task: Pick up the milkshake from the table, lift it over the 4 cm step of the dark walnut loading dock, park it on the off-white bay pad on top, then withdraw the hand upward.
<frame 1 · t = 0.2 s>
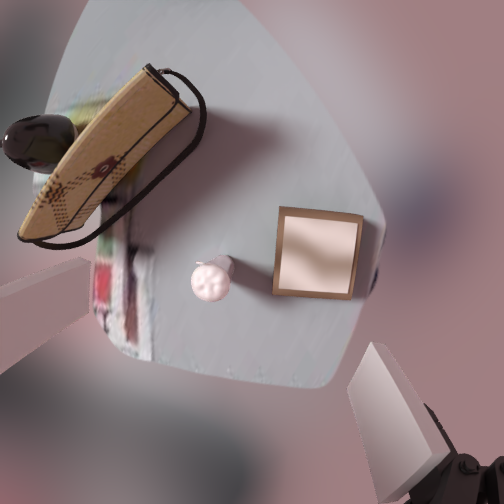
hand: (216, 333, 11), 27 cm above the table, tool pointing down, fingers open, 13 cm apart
clutch purse: (137, 175, 38), on the table
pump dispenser: (67, 147, 37), on the table
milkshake: (222, 262, 39), on the table
dock: (313, 249, 37), on the table
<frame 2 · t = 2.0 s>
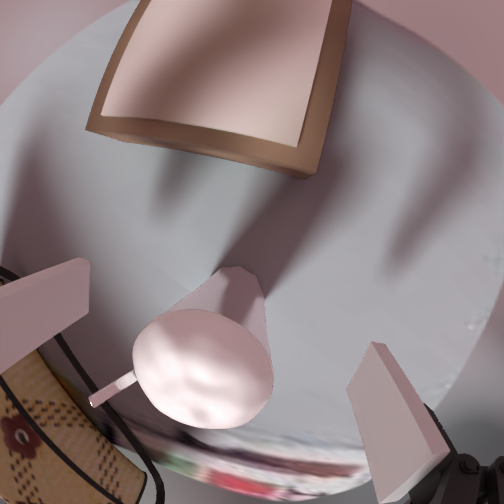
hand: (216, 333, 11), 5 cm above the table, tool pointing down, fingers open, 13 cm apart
clutch purse: (75, 385, 19), on the table
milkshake: (227, 291, 16), on the table
dock: (231, 72, 13), on the table
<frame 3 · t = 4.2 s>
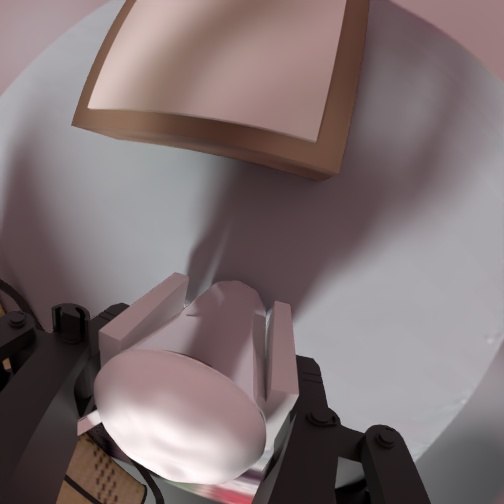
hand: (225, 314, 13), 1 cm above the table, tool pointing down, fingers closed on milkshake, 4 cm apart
clutch purse: (70, 397, 18), on the table
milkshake: (225, 309, 14), on the table, touching gripper
dock: (236, 61, 11), on the table
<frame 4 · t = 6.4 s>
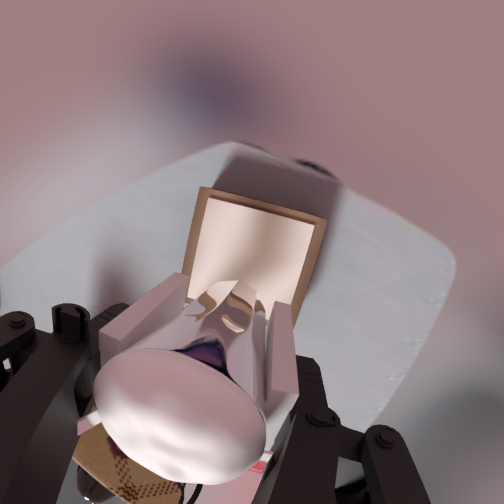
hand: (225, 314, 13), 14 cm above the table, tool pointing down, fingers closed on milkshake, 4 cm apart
clutch purse: (147, 408, 33), on the table
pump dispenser: (119, 445, 37), on the table
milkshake: (225, 309, 14), point 14 cm above the table, touching gripper
dock: (252, 253, 27), on the table
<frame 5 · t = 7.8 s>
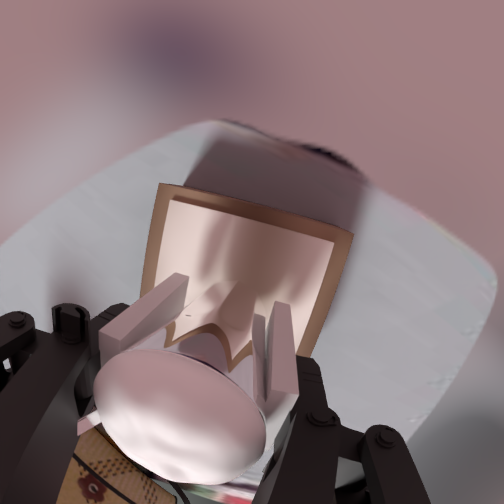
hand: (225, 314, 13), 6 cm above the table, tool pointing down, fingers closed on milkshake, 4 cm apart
clutch purse: (123, 445, 25), on the table
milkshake: (225, 309, 14), point 6 cm above the table, touching gripper
dock: (240, 278, 19), on the table
when the fingers open (5 cm above the table, at t = 8.8 s): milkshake stays where it is, resting on dock.
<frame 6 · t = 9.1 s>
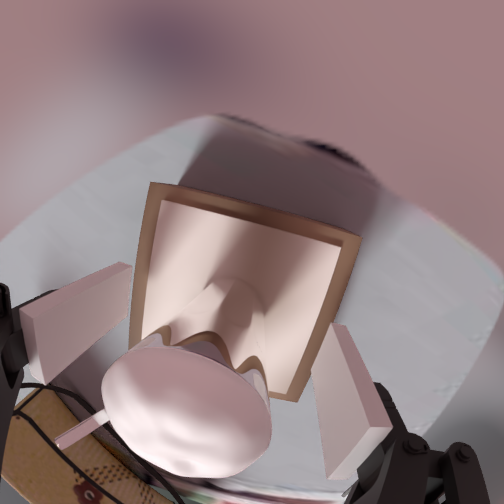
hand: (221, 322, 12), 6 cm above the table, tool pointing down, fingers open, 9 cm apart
clutch purse: (120, 451, 24), on the table
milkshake: (223, 306, 14), point 4 cm above the table, touching dock
dock: (238, 283, 18), on the table
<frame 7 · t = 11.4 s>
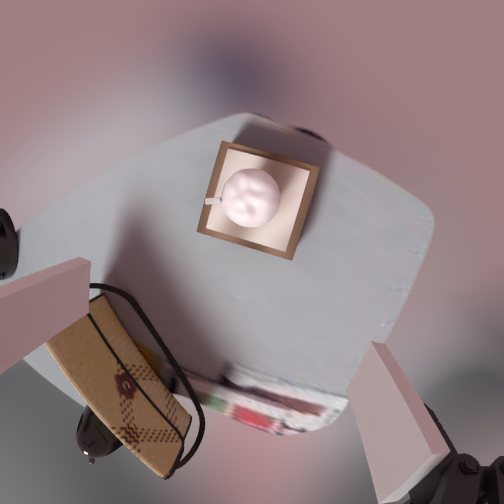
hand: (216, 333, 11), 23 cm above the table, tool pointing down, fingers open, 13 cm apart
clutch purse: (153, 355, 39), on the table
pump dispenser: (122, 402, 42), on the table
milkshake: (254, 198, 29), point 4 cm above the table, touching dock
dock: (259, 199, 33), on the table
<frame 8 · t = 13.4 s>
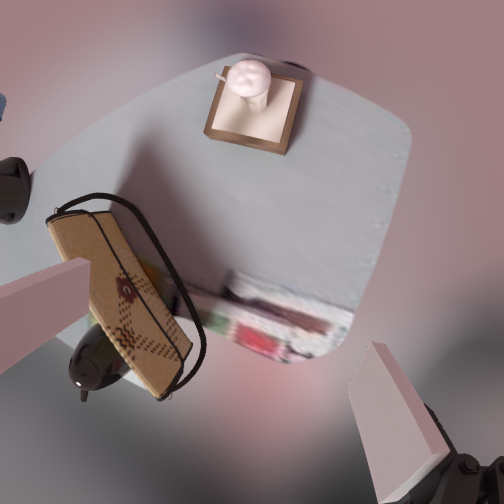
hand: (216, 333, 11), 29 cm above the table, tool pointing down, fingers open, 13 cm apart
clutch purse: (156, 272, 42), on the table
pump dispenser: (121, 339, 45), on the table
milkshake: (251, 103, 32), point 4 cm above the table, touching dock
dock: (256, 113, 36), on the table
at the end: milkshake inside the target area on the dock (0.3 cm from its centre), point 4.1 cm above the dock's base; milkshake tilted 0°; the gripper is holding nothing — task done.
